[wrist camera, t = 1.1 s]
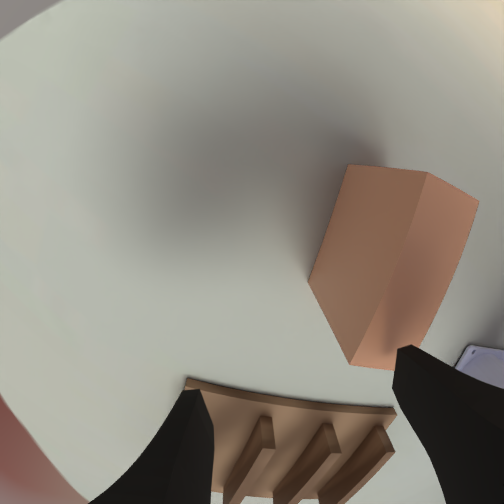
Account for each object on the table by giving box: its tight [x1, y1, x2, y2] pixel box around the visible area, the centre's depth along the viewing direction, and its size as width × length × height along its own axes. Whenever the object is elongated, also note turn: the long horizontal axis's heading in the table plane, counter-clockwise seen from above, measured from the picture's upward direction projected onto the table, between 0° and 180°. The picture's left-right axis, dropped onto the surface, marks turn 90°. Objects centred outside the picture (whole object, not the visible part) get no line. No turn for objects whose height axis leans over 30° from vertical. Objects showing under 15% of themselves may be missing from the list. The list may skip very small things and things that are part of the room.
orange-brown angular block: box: [308, 164, 479, 371], centre depth 15 cm, size 3×8×9 cm, turn 164°
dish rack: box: [184, 378, 397, 504], centre depth 23 cm, size 19×16×4 cm
